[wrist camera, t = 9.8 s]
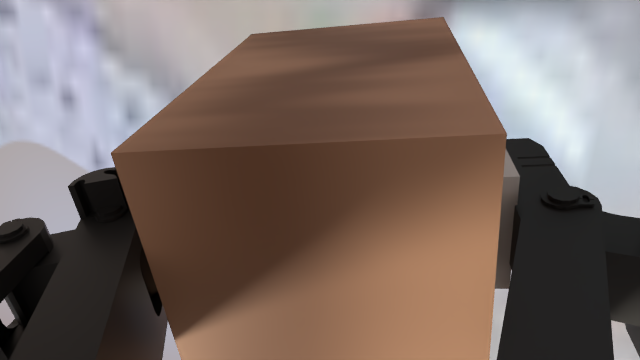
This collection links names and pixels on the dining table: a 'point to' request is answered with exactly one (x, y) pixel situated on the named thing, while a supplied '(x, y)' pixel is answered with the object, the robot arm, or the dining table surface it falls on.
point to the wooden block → (325, 199)
